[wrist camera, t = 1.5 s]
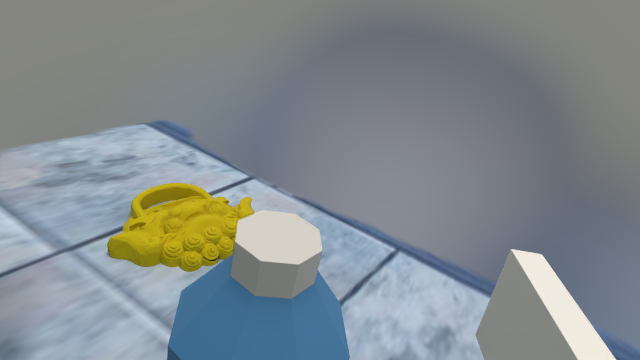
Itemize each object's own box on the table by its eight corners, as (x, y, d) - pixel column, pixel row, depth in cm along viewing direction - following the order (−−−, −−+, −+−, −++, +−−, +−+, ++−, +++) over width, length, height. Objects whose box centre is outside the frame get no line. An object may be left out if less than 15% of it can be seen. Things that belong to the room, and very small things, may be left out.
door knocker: (152, 192, 67) (152, 167, 65) (258, 212, 68) (262, 188, 66) (97, 261, 52) (96, 231, 50) (233, 286, 53) (237, 257, 51)
